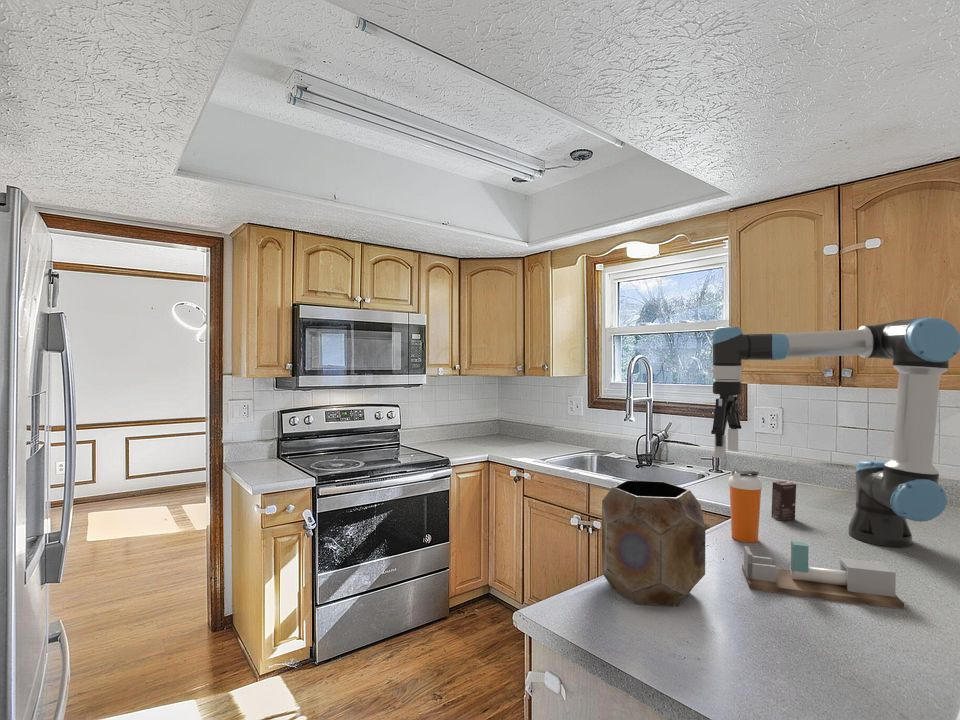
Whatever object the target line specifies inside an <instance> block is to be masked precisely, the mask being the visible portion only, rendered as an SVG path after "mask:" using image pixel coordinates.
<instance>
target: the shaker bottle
mask: <svg viewBox="0 0 960 720" xmlns="http://www.w3.org/2000/svg"><path fill="white" fill-rule="evenodd" d="M759 474H760V472H759V471H755V470H754V471H753V470H741V471H739V469H733V470H732V471H731V476H730V477H729V478H728V486H729V502H730V505H729V506H730V508H729V509H730V510H729V511H730V525H731V526H730V527H731V529H730V530H731V537H732V539H733V540H736V541H738V542H744V543H757V542H758V541H759V532H760V531H759V530H760V529H759V527H760V514H761V511H760V510H761V496H762V494H761V493H762V489H763V482H762V480H761V479H760V478H759V477H758V475H759Z"/></svg>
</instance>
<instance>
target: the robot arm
mask: <svg viewBox="0 0 960 720" xmlns="http://www.w3.org/2000/svg"><path fill="white" fill-rule="evenodd" d="M712 332H713V335H712V368H711V369H710V372H711V373H712V380H713V382H712V394H714V395H719V398H715V408H714V409H715V410H714V415H713V423H712V429H711V431H710V433H711V435H714V458H716V459H724V460H725V459H726V456H727V455H726V454H727V453H726V452H727V451H731V452H739V430H742V425H741V420H740V411H739V404H738V396H739V395H741V394H742V382H741V381H740V380H742V373H743V372H742V370H743V369H742V365H743V364H742V361H750V360H751V361H782V360H785V359H789V358H793V359H794V358H815V357H817V358H818V357H842V356H843V357H845V356H859V357H861V358H862V359H885V360H892V367H893V368H894V369H895V370H896V372H898V380H897V391H896V392H897V393H896V404H895V415H894V417H895V418H894V425H893V426H894V428H893V439H892V451H891V458H890V459H889V460H888V461H886V460H860V461H857V463H856V467H855V509H854V512H853V515H852V517H851V520H850V522H849V524H848V534H849V536H851V537H852V538H854V539H856V540H858V541H862V542H865V543H868V544H873V545H877V546H885V547H893V548H905V547H906V548H907V547H910V546H912V545H913V535H912V532H911V529H910V526H909V524H908V521H907V520H909V521H913V522H928V521H932V520H934V519H936V518H937V517H939V516H940V515H942V514H943V512H944V511H945V510H946V507H947V503H948V496H947V493H946V491H945V490H944V489H943V487H942V486H941V485H940V484H939V478H940V471H939V470H938V469H937V468H935V467H934V466H933V465H934V464H933V458H934V450H935V449H934V448H935V446H934V445H935V439H936V438H935V435H936V425H937V415H938V414H937V413H938V404H939V403H938V402H939V401H938V400H939V392H940V391H939V389H940V380H941V379H940V378H941V375H943V374H944V373H946V372H947V371H948V370H949V365H950V364H949V363H950V360H951V359H952V358H954V357H955V356H957V355H958V353H959V351H960V332H959V330H958V329H957V327H956V326H954V325H953V324H952V323H951V322H949V321H948V320H946V319H942V318H938V317H928V316H927V317H926V316H925V317H918V318H911V319H899V320H896V321H890V322H885V323H879V324H872V325H861V326H859V327H858V329H847V330H846V329H843V330H841V329H840V330H826V331H825V330H824V331H823V330H821V331H807V332H804V331H803V332H787V333H786V332H784V333H775V332H772V333H743V332H742V327H740V326H720V327H716V328H715V329H713V331H712ZM727 424H728V428H727ZM726 428H727V435H726V434H725V433H726V432H725V431H726ZM726 437H727V439H726ZM726 441H727V442H726ZM726 449H727V450H726Z"/></svg>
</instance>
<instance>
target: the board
mask: <svg viewBox="0 0 960 720" xmlns="http://www.w3.org/2000/svg"><path fill="white" fill-rule="evenodd" d="M741 569H742V572H743V575H744V578H745V580H746V583H747V586H748V588H749V590H755V591H763V592H770V593H778V594H786V595H792V596H800V597H808V598H817V599H823V600H831V601H839V602H847V603H854V604H855V603H856V604H862V605H869V606H878V607H886V608H892V609H893V608H894V609H901V610H905V603H904V602H903V600H902V599H900V598H899V596H897V595H896V594H895V597H892V596H884V595H876V594H868V593H860V592H852V591H847V586H845V585H837V584H829V583H821V582H812V581H804V580H796V579H792V577H791V569H784V568H777V567H776V582H771V581H763V580H755V579H748V578H747V576H746V573H745V571H744V564H742V565H741Z"/></svg>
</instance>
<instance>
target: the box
mask: <svg viewBox="0 0 960 720" xmlns="http://www.w3.org/2000/svg"><path fill="white" fill-rule="evenodd" d="M771 488H772V491H771V492H772V493H771V495H772V496H771V518H772V519H775V520H778V521H788V520H789V521H790V520H791V521H792V520H796V502H797V484H796V483H793V482H790V481H788V480H786V481H785V480H783V481H780V480H779V481H773V482H772V487H771Z"/></svg>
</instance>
